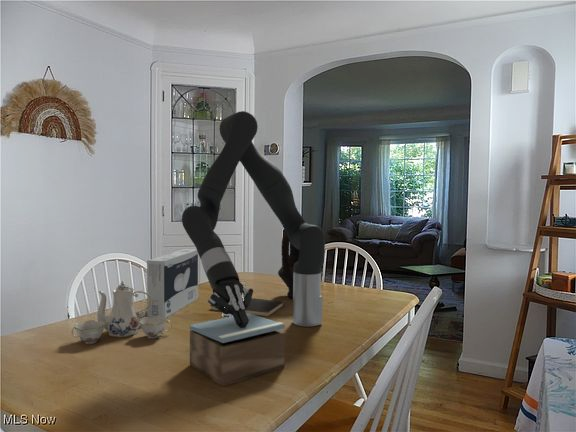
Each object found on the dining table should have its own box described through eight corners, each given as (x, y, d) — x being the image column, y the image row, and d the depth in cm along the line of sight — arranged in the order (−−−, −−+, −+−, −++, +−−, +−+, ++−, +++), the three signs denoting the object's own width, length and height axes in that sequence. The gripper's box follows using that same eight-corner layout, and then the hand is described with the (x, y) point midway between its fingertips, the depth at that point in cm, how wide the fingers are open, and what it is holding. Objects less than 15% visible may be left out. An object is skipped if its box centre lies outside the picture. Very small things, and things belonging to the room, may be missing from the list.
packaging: (163, 319, 155) (163, 261, 153) (147, 318, 156) (146, 260, 155) (198, 298, 184) (198, 249, 183) (184, 297, 186) (184, 248, 184)
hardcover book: (267, 318, 160) (267, 311, 160) (210, 311, 168) (210, 304, 168) (283, 307, 175) (283, 301, 175) (230, 301, 183) (230, 295, 183)
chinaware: (70, 356, 125) (69, 298, 122) (72, 332, 140) (71, 280, 137) (174, 343, 136) (175, 290, 134) (165, 322, 151) (166, 274, 149)
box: (189, 364, 116) (189, 330, 115) (248, 349, 127) (248, 317, 127) (222, 386, 103) (222, 348, 103) (284, 367, 115) (284, 332, 114)
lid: (189, 329, 115) (189, 324, 115) (248, 316, 126) (248, 312, 126) (222, 343, 103) (222, 337, 103) (284, 328, 114) (284, 323, 114)
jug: (294, 289, 203) (295, 222, 201) (330, 295, 192) (331, 224, 190) (265, 298, 186) (265, 225, 184) (302, 305, 175) (303, 228, 173)
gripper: (201, 262, 114) (227, 322, 105) (245, 257, 122) (272, 313, 113) (191, 279, 118) (215, 338, 110) (235, 274, 127) (260, 328, 118)
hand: (244, 325), depth 112 cm, fingers closed
